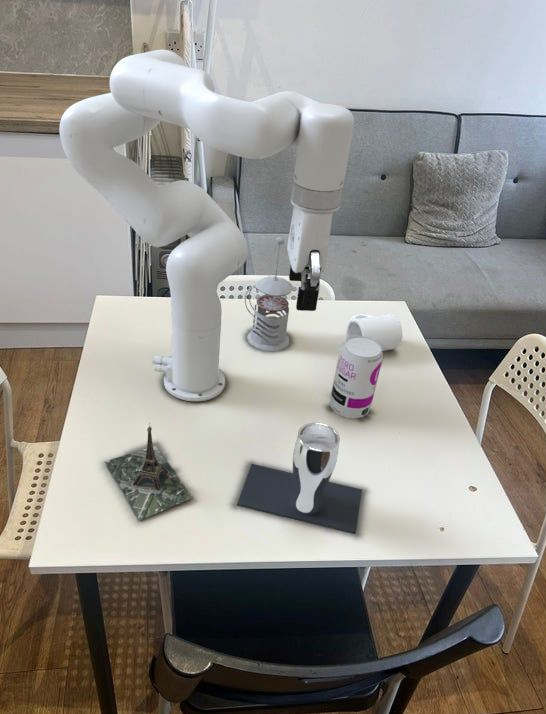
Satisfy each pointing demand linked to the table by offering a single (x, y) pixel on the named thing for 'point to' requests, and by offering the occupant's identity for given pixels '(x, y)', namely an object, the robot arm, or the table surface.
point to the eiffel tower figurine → (148, 480)
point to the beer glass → (313, 466)
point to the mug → (377, 329)
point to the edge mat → (271, 496)
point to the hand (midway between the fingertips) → (301, 294)
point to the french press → (270, 328)
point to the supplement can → (356, 377)
